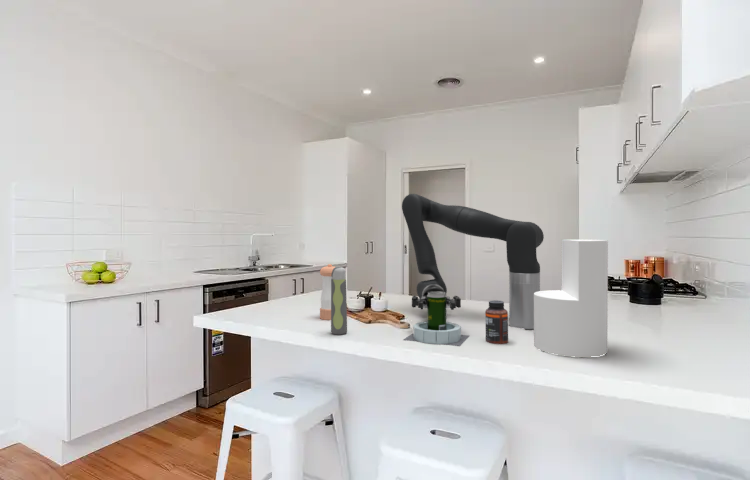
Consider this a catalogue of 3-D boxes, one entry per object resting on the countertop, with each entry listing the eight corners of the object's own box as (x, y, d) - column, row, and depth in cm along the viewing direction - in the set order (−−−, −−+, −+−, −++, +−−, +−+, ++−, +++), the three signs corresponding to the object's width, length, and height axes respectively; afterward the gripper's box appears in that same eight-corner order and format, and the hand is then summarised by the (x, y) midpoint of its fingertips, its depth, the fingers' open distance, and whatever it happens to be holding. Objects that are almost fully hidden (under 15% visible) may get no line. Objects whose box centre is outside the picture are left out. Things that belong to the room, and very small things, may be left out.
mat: (469, 336, 120) (469, 335, 120) (459, 347, 110) (459, 346, 110) (417, 331, 127) (417, 330, 127) (402, 341, 116) (402, 339, 116)
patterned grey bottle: (346, 335, 124) (345, 267, 123) (329, 335, 124) (329, 267, 123) (348, 331, 128) (347, 266, 128) (332, 331, 129) (331, 266, 128)
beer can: (450, 334, 118) (450, 292, 118) (437, 338, 115) (437, 294, 114) (436, 331, 122) (435, 290, 122) (423, 334, 119) (423, 292, 119)
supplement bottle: (508, 340, 116) (508, 300, 116) (507, 346, 110) (507, 303, 110) (486, 339, 118) (486, 299, 118) (484, 344, 112) (484, 302, 112)
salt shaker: (315, 318, 148) (315, 264, 148) (330, 315, 154) (330, 262, 153) (329, 321, 143) (329, 265, 143) (344, 317, 149) (344, 263, 148)
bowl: (465, 334, 121) (465, 323, 121) (453, 346, 110) (453, 333, 110) (422, 330, 127) (422, 319, 127) (407, 340, 115) (407, 329, 115)
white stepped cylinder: (595, 340, 115) (595, 239, 114) (618, 360, 98) (618, 241, 98) (529, 338, 119) (529, 239, 118) (540, 356, 102) (540, 241, 101)
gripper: (411, 285, 134) (411, 292, 118) (456, 285, 133) (462, 292, 117) (411, 308, 134) (411, 319, 118) (456, 308, 133) (463, 319, 117)
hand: (437, 306), depth 117 cm, fingers open, 8 cm apart
